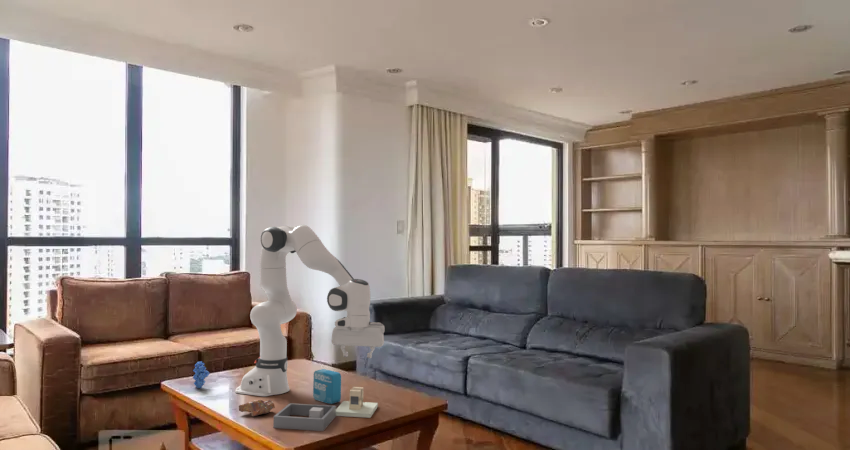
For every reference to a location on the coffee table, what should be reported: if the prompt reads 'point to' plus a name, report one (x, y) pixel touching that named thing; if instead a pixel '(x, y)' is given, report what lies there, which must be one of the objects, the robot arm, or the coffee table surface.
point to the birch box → (356, 398)
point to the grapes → (200, 374)
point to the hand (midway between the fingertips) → (357, 357)
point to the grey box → (316, 412)
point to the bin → (303, 423)
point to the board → (365, 410)
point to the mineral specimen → (257, 407)
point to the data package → (327, 386)
